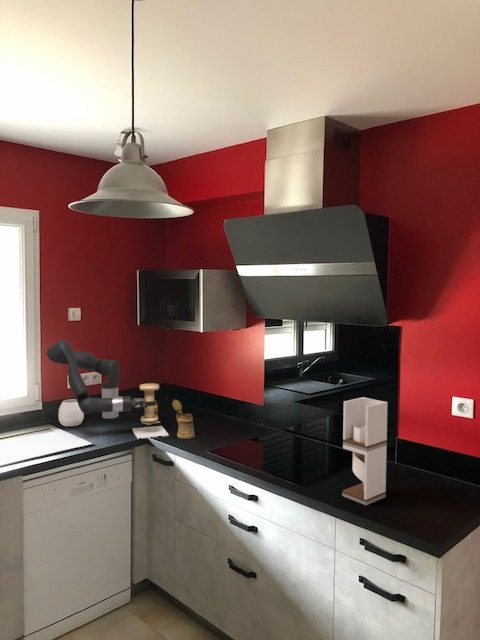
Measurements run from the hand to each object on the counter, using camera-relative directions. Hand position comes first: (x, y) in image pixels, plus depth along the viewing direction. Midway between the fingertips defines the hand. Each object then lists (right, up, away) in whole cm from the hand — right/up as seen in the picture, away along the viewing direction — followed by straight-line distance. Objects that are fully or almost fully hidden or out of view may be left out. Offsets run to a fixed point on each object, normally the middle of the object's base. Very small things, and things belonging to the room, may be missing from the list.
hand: (154, 402), depth 272 cm
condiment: (-5, -15, +21) cm, 26 cm away
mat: (-2, -16, 0) cm, 16 cm away
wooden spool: (-3, -9, 0) cm, 9 cm away
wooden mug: (+16, -17, -5) cm, 23 cm away
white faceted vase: (-48, -15, +15) cm, 52 cm away
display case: (+90, -22, -81) cm, 123 cm away
